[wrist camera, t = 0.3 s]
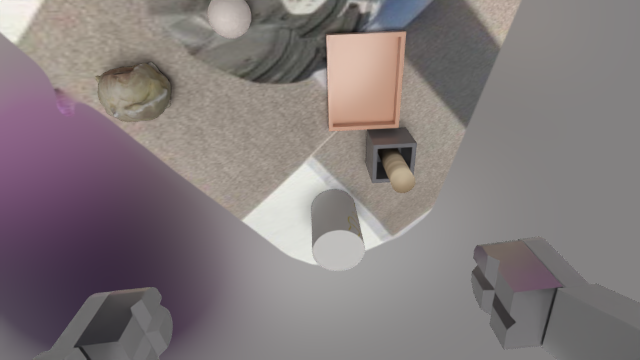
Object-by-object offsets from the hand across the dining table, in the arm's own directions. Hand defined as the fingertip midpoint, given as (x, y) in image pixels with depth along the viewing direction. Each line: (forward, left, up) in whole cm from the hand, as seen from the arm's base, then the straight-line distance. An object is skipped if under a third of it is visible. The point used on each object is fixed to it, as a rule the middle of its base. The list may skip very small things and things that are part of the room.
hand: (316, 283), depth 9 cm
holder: (+17, +12, -47) cm, 51 cm away
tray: (+6, +8, -47) cm, 48 cm away
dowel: (+17, +12, -46) cm, 50 cm away
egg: (-4, -10, -47) cm, 48 cm away
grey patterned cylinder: (+29, +3, -47) cm, 55 cm away
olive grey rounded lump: (+5, -25, -47) cm, 53 cm away
